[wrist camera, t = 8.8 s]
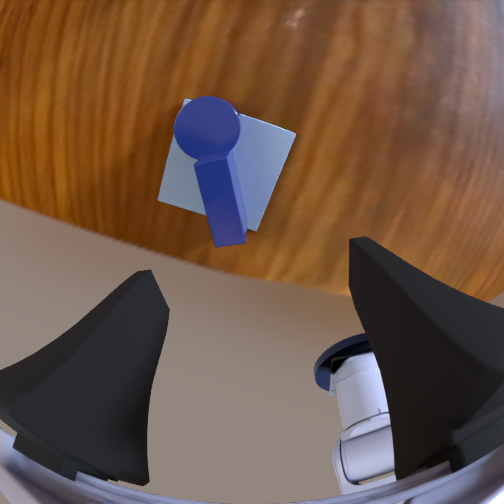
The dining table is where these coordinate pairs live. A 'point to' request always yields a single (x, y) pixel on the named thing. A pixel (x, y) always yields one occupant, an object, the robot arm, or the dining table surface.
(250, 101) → the dining table surface
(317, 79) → the dining table surface
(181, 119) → the blue spoon
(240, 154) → the blue mat
